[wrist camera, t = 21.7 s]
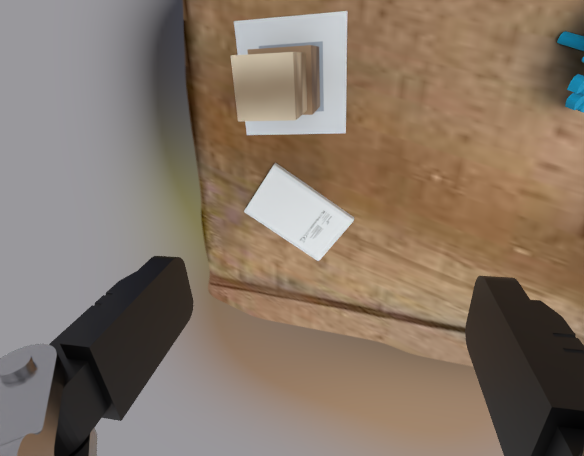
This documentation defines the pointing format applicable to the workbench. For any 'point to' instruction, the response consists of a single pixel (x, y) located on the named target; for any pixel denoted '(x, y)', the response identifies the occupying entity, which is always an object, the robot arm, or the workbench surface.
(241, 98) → the maple block
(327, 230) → the external hard drive
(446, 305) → the workbench surface
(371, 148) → the workbench surface
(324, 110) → the white square plate
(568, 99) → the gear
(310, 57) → the walnut block
